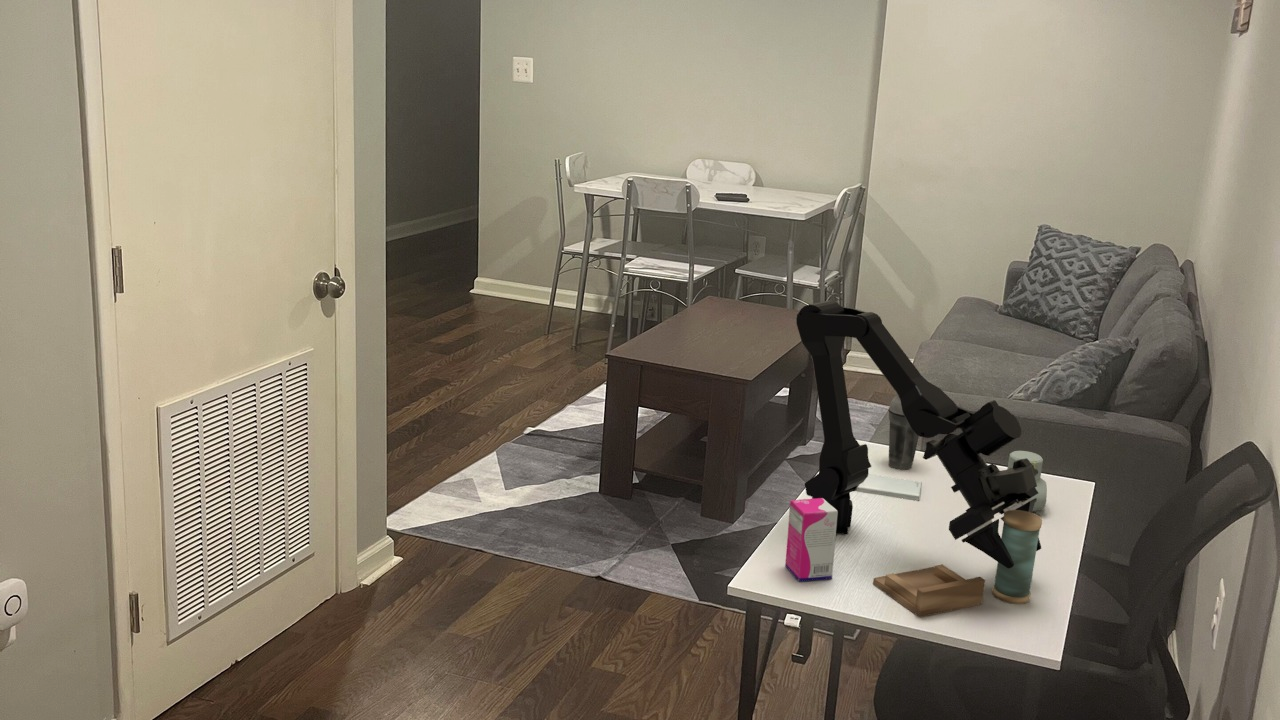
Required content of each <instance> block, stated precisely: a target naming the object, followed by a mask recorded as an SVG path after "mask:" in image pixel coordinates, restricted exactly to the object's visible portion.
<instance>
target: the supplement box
mask: <svg viewBox="0 0 1280 720" xmlns="http://www.w3.org/2000/svg"><path fill="white" fill-rule="evenodd" d="M789 502H790V503H789V513H788V514H789V515H788V527H787V528H788V529H787V539H786V554H785V567H786V568H787V569H788V571H789V572H790V574H792V575H793V576H794V578H795V579H796V580H797V581H798V582H801V583H802V582H810V581H823V580H833V572H834V571H833V569H834V562H835V561H834V559H835V549H836V548H835V547H836V536H837V534H836V526H837V515H838V511H837V510H836V509H835V508H834V507H832V506H831V505H830V504H829V503H828V502H827V501H826V500H824V499H823V498H816V499H812V498H806V499H805V498H804V499H792V500H790V501H789Z"/></svg>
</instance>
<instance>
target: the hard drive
mask: <svg viewBox="0 0 1280 720" xmlns="http://www.w3.org/2000/svg"><path fill="white" fill-rule="evenodd" d="M922 483H923V482H922V481H918V480H912V479H904V478H899V477H891V476H885V475H877V474H872V473H871V474H870V473H868V477H867V478H866V479H865V481H864V482H863V483H861V484H859V486H858V487H857V489H856V491H855V492H857V493H859V492H860V493H863V494H864V493H865V494H871V495H876V496H877V495H878V496H883V497H891V498H897V499H902V498H903V499H904V500H910V501H915V500H916V501H917V502H919V501H920V498H921V497H920V495H921V490H922Z"/></svg>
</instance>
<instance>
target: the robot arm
mask: <svg viewBox="0 0 1280 720" xmlns="http://www.w3.org/2000/svg"><path fill="white" fill-rule="evenodd" d="M795 323H796V328H797V331H798V334H799V337H800V338H799V339H800V341H801V344H802V345H803V347H804V348H805V349H806V351H807V352H808V354H809V355H810V356H811V359H812V365H813V373H814V379H815V385H816V392H817V399H818V400H817V401H818V405H819V406H818V407H819V412H820V419H821V426H822V427H821V428H822V431H823V432H822V433H823V444H822V445H821V446H822V447H821V450H820V454H819V457H818V473H817V474H815V476H813V477H811V478H810V479H808V480H807V481H805V482H804V488H805V489H804V490H805V493H806V495H807V496H809V497H811V499H816V498H823V499H824V500H826V501H827V502H828V503H829V504H830V505H831V506H832V507H834V508H835V509H836V510H837V511H838V515H837V526H836V535H838V534H839V535H849V528H850V527H851V525H852V519H853V518H852V517H853V516H852V515H853V508H854V506H853V501H852V500H851V495H850V493H852V492H857V491H856V489H857V487H858V486H859V484H861V483H863V482H864V481H865V479H866V478H867V477H868V474H869V468H872V464H871V463H870V458H869V447H868V445H867V444H866V443H863V444H860V443H859V442H858V440H857V439H856V438H855V436H854V432H853V426H852V420H851V413H850V412H851V411H850V405H849V399H848V392H847V386H846V378H845V371H844V365H843V358H842V350H843V348H844V343H845V341H846V338H854V339H856V340H857V342H858V343H859V344H860V345H861V347H862V349H863V350H864V351H865V352H866V354H867V355H868V356H869V358H870V359H871V360H872V361H873V363H874V365H875V366H876V367H877V368H878V370H879V371H880V372H881V374H882V375H883V376H884V378H885V379H886V380H887V382H888V383H889V384H890V386H891V387H892V388H893V390H894V391H895V392H896V395H898V396H899V398H900V402H901V407H902V412H903V414H904V416H905V418H906V420H907V421H908V423H909V425H910V427H911V429H912V430H913V432H914V433H915V434H916V435H918V436H919V437H921V438H926V439H930V438H934V437H936V436H939V435H944V436H943V437H942V438H940V439H939V440H936V439H932V440H928V441H926V443H925V450H924V452H923V453H924V454H923V459H924V460H929V459H931V458H933V457H936V456H937V458H938V459H939V461H940V462H941V465H942V466H943V467H944V469H945V470H946V472H947V473H948V476H949V477H950V478H951V479H952V481H953V483H954V485H952V486H950V488H951V490H952V491H953V493H954V494H955V493H956V492H960V494H961V495H962V496H963V498H964V500H965V501H966V502H965V503H967V505H968V506H969V507H968V508H967V509H965V512H963V513H962V514H960V515H958V516H957V517H955V518H953V519H952V520H950V521H949V526H948V531H949V532H950V534H951V535H952V537H953V539H954V541H956V540H958V539H960V538H962V537H963V536H965V535H966V537H964V538H962V539H961V542H962V543H963V544H964V543H967V544H969V545H971V546H972V547H974V548H976V549H977V550H978V551H981V552H983V553H984V554H985V555H987V556H988V557H990V558H992V559H993V560H995V561H996V562H997V563H998V562H999V563H1000V564H1002V565H1003V566H1005V567H1006V568H1008V569H1010V568H1012V567H1013V566H1014V563H1013V560H1012V558H1011V556H1010V554H1009V552H1008V550H1007V548H1006V546H1005V544H1004V543H1003V541H1002V539H1001V537H1002V536H1001V535H1000V533H999V526H1000V519H1001V520H1002V522H1003V517H1004V513H1005V512H1006V511H1009V510H1021V511H1027V512H1030V513H1033V512H1034V511H1033V508H1034V504H1035V502H1036V501H1037V498H1035V499H1033V500H1031V501H1029V500H1028V499H1030V498H1031V497H1033V496H1035V495H1037V494H1038V491H1037V490H1036V488H1035V487H1037V483H1036V480H1035V476H1036V475H1037V474H1038V470H1037V469H1035V468H1034V465H1032V464H1031V463H1030V461H1029V460H1028V459H1027V458H1025V459H1019V460H1017V461H1015V462H1014V463H1013V468H1009V469H1004V470H1003V469H1002V470H1000V469H999V467H998V466H997V465H996V464H994V463H990V464H989V465H988V463H987V462H986V460H985V459H984V458H983V455H984V456H986V457H989V456H992V455H993V454H995V453H997V452H998V451H1000V450H1001V449H1003V448H1005V447H1006V446H1008V445H1009V444H1011V443H1012V442H1015V441H1016V440H1017V439H1019V438H1021V436H1022V429H1021V428H1022V427H1021V425H1020V422H1019V421H1018V419H1017V417H1016V416H1015V414H1013V413H1011V412H1010V411H1009V410H1008V409H1006V408H1005V407H1004V406H1000V405H999V404H998V403H997V401H996V400H994V399H993V400H991V401H988V402H987V403H985V404H983V405H982V406H981V407H980V408H979V409H978V410H977V411H975V412H972V411H970V410H968V409H965V408H962V407H961V406H959V405H957V404H956V403H955V401H954V400H953V399H952V398H950V397H949V396H948V395H947V394H946V392H944V390H942V389H941V388H939V387H938V386H936V385H935V384H933V383H932V382H929V381H928V380H927V379H926V378H925V377H924V376H923V375H922V374H921V373H920V371H919V370H918V369H917V368H916V366H915V365H914V363H913V362H912V361H911V360H910V358H909V357H908V356H907V354H906V353H905V351H904V350H903V349H902V348H901V347H900V345H899V343H898V342H897V341H896V340H895V338H894V337H893V336H892V334H891V333H890V332H889V330H888V329H887V328H886V327H885V325H884V324H883V320H882V319H881V316H879V315H878V314H877V313H875V312H873V311H863V310H861V309H858V308H854V307H847V306H846V307H845V306H842V305H840V303H839V302H836V301H835V300H824V301H821V302H815V303H811V304H807V305H804V306H803V307H802V308H800V309H799V311H798V313H797V314H796V318H795ZM958 430H961V431H962V432H960V433H959V434H956V433H954V432H957V431H958ZM997 514H1000V515H1003V516H1002V517H1000V519H999V518H997V519H995V515H997ZM993 519H995V520H994V521H993ZM1041 549H1042V545H1041V540H1040V537H1038V543H1037V549H1036V552H1038V551H1040V550H1041Z"/></svg>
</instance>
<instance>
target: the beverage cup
mask: <svg viewBox="0 0 1280 720" xmlns="http://www.w3.org/2000/svg"><path fill="white" fill-rule="evenodd" d="M887 411H888V420H889V434H888V435H889V436H888V437H889V438H888V440H889V443H888V466H889V467H890V468H891V469H894V470H899V471H910V470H911V469H912V467H913V464H914V459H915V455H916V451H917V445H918V442H919V436H918V435H916V434H915V433H914V432H913V430H912V429H911V427H910V425H909V423H908V421H907V420H906V418H905V416H904V414H903V412H902V407H901V402H900V398H899V396H898V394H896V395H895V396H894V397H893V398H892V400H891V402H890V404H889V407H888V410H887Z"/></svg>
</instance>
